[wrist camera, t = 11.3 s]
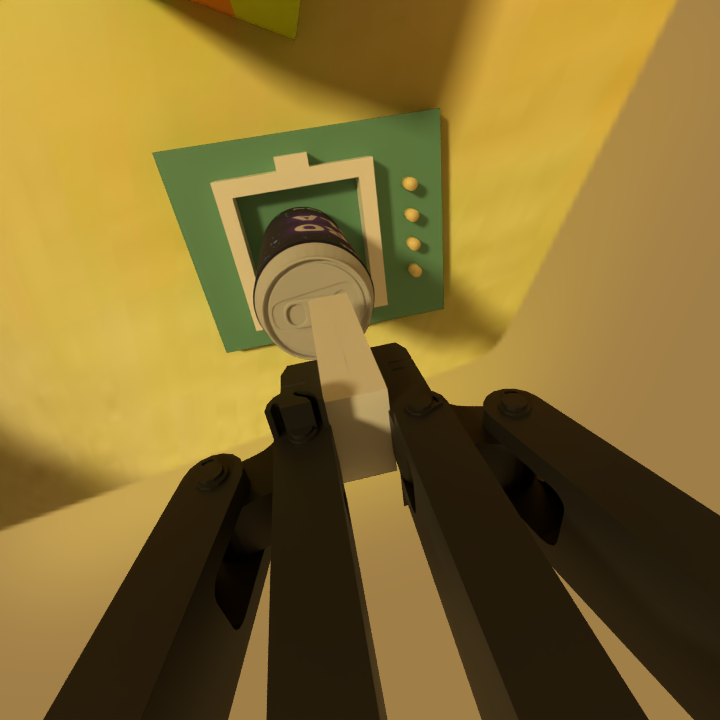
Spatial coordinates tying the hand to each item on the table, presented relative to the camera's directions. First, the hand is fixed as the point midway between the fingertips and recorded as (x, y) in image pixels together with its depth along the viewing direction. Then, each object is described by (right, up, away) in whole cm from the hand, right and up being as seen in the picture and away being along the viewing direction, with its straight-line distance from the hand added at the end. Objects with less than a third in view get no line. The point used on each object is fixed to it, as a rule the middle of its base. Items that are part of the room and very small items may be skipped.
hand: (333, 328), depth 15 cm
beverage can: (-3, +7, +12) cm, 14 cm away
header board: (-2, +8, +13) cm, 15 cm away
